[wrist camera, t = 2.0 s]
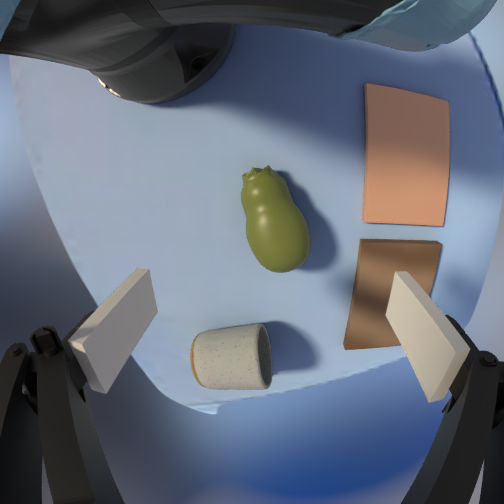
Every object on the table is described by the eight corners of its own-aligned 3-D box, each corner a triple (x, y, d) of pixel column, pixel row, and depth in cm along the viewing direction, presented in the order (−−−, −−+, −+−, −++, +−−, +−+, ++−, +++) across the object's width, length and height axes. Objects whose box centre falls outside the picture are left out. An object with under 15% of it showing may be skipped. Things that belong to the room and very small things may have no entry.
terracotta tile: (363, 84, 21) (366, 83, 21) (445, 102, 21) (448, 101, 20) (362, 220, 27) (364, 222, 26) (439, 224, 26) (442, 226, 25)
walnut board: (360, 238, 27) (363, 242, 26) (436, 240, 26) (441, 244, 25) (343, 343, 32) (344, 349, 31) (410, 338, 32) (413, 343, 30)
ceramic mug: (196, 319, 33) (178, 363, 26) (261, 309, 31) (257, 355, 24) (223, 376, 37) (213, 419, 29) (279, 370, 35) (278, 415, 28)
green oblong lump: (259, 287, 24) (219, 177, 22) (265, 270, 29) (233, 179, 28) (321, 268, 23) (282, 154, 21) (316, 254, 28) (285, 161, 26)
